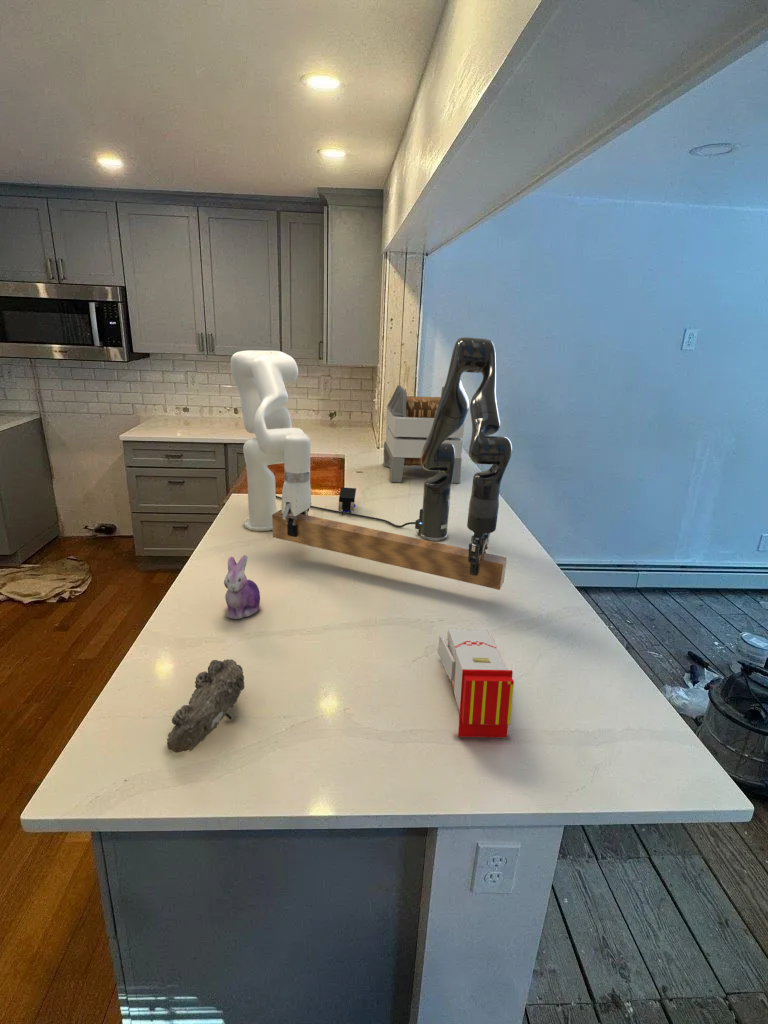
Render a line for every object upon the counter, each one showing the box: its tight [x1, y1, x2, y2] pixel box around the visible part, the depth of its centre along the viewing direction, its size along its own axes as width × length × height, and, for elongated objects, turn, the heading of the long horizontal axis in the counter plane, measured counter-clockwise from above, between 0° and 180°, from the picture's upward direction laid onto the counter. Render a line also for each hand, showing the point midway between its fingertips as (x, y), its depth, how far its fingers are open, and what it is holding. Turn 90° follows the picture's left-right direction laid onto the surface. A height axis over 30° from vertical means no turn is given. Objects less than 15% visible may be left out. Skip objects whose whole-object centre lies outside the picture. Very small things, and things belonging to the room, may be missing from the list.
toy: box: [437, 628, 515, 738], centre depth 117 cm, size 12×13×30 cm
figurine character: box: [337, 486, 357, 516], centre depth 219 cm, size 7×8×15 cm
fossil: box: [166, 658, 245, 754], centre depth 106 cm, size 22×10×15 cm
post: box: [272, 509, 508, 591], centre depth 163 cm, size 71×5×8 cm, turn 67°
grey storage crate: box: [383, 384, 465, 484], centre depth 268 cm, size 34×33×41 cm
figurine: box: [223, 554, 261, 620], centre depth 143 cm, size 9×10×15 cm
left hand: (297, 532), depth 173 cm, fingers closed on post, 5 cm apart
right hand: (476, 570), depth 153 cm, fingers closed on post, 5 cm apart
